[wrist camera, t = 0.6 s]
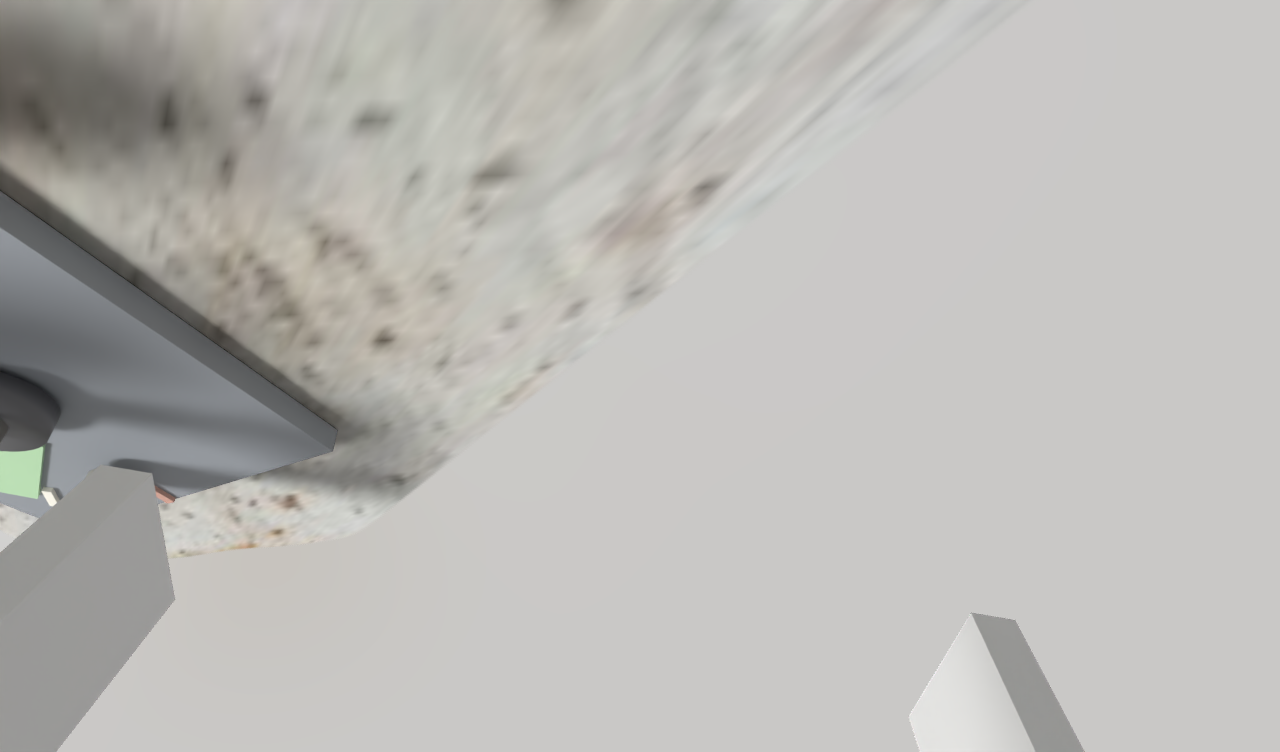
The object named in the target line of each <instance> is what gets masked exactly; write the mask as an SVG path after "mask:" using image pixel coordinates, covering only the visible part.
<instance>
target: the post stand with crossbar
mask: <svg viewBox="0 0 1280 752" xmlns="http://www.w3.org/2000/svg"><path fill="white" fill-rule="evenodd" d="M60 416H61V412H60V408H59V406H58V404H57V403H56V402H55V401H54V400H53V398H52V397H50V396H49V395H48V394H47V393H45V392H44V391H43V390H41V389H39V388H38V387H36V386H34V385H32V384H30V383H28V382H26V381H24V380H22V379H19V378H17V377H14V376H12V375H9V374H5V373H2V372H0V451H7V452H20V451H29V450H34V449H37V448H40V447H42V446H43V445H45V444H46V443H47V442H48V440H49V438H50V436H51V434H52V432H53V430H54V428H55V426H56V424H57V422H58V420H59V418H60ZM94 470H95V469H93V470H91V471H89V472H88V473H87V475H86V477H87V476H88V475H89V474H91V473H92V472H93V471H94Z"/></svg>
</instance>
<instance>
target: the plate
mask: <svg viewBox="0 0 1280 752" xmlns="http://www.w3.org/2000/svg"><path fill="white" fill-rule="evenodd" d="M0 372H2V373H5V374H9V375H12V376H14V377H17V378H19V379H22V380H24V381H26V382H28V383H30V384H32V385H34V386H36V387H38V388H39V389H41V390H43V391H44V392H45V393H47V394H48V395H49V396H50V397H52V398H53V400H54V401H55V402H56V403H57V404H58V406H59V408H60V412H61V416H60V418H59V420H58V422H57V424H56V426H55V428H54V430H53V432H52V434H51V436H50V438H49V440H48V442H47V443H46V444H45V445H43V446H42V447H40V448H37V449H34V450H29V451H20V452H7V451H0V503H2V504H4V505H7V506H9V507H12V508H14V509H17V510H20V511H22V512H25V513H27V514H30V515H32V516H35V517H37V518H40V517H41V516H43V515H44V514H45V513H46V512H47V511H48V510H49V509H51V508H52V507H53V506H54V505H55V504H56V503H57V502H59V501H60V500H61V499H62V498H63V497H64V496H65V495H67V494H68V493H69V492H70V491H71V490H72V489H73V488H75V487H76V486H77V485H78V484H79V483H80V482H81V481H83V480H84V479H85V478H86V475H87V473H88V472H89V471H91V470H93V469H96V468H97V467H99V466H100V465H106V466H112V467H118V468H123V469H129V470H135V471H141V472H147V473H152V475H153V480H154V486H155V491H156V497H157V502H158V504H160V503H163V502H166V503H172V502H174V501H175V499H176V498H180V497H183V496H186V495H190V494H193V493H196V492H200V491H203V490H206V489H210V488H213V487H216V486H220V485H223V484H226V483H229V482H233V481H236V480H239V479H243V478H246V477H249V476H253V475H256V474H259V473H263V472H266V471H269V470H273V469H276V468H279V467H283V466H286V465H289V464H293V463H296V462H299V461H302V460H306V459H309V458H312V457H316V456H319V455H322V454H326V453H329V452H332V451H333V448H334V444H335V440H336V435H337V431H338V430H336V429H335V428H334V427H332V426H331V425H329V424H328V423H327V422H325V421H324V420H322V419H321V418H320V417H318V416H317V415H315V414H314V413H312V412H311V411H310V410H308V409H307V408H305V407H304V406H303V405H301V404H300V403H298V402H297V401H296V400H294V399H293V398H291V397H290V396H289V395H287V394H286V393H284V392H283V391H281V390H280V389H279V388H277V387H276V386H274V385H273V384H272V383H270V382H269V381H267V380H266V379H265V378H263V377H262V376H260V375H259V374H258V373H256V372H255V371H253V370H252V369H250V368H249V367H248V366H246V365H245V364H243V363H242V362H241V361H239V360H238V359H236V358H235V357H234V356H232V355H231V354H229V353H228V352H227V351H225V350H224V349H222V348H221V347H219V346H218V345H217V344H215V343H214V342H212V341H211V340H210V339H208V338H207V337H205V336H204V335H203V334H201V333H200V332H198V331H197V330H196V329H194V328H193V327H191V326H190V325H188V324H187V323H186V322H184V321H183V320H181V319H180V318H179V317H177V316H176V315H174V314H173V313H172V312H170V311H169V310H167V309H166V308H165V307H163V306H162V305H160V304H159V303H157V302H156V301H155V300H153V299H152V298H150V297H149V296H148V295H146V294H145V293H143V292H142V291H141V290H139V289H138V288H136V287H135V286H134V285H132V284H131V283H129V282H128V281H126V280H125V279H124V278H122V277H121V276H119V275H118V274H117V273H115V272H114V271H112V270H111V269H110V268H108V267H107V266H105V265H104V264H102V263H101V262H100V261H98V260H97V259H95V258H94V257H93V256H91V255H90V254H88V253H87V252H86V251H84V250H83V249H81V248H80V247H79V246H77V245H76V244H74V243H73V242H71V241H70V240H69V239H67V238H66V237H64V236H63V235H62V234H60V233H59V232H57V231H56V230H55V229H53V228H52V227H50V226H49V225H48V224H46V223H45V222H43V221H42V220H40V219H39V218H38V217H36V216H35V215H33V214H32V213H31V212H29V211H28V210H26V209H25V208H24V207H22V206H21V205H19V204H18V203H17V202H15V201H14V200H12V199H11V198H9V197H8V196H7V195H5V194H4V193H2V192H1V191H0Z"/></svg>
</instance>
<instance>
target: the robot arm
mask: <svg viewBox="0 0 1280 752" xmlns="http://www.w3.org/2000/svg"><path fill="white" fill-rule="evenodd" d="M174 600H175V597H174V591H173V586H172V580H171V574H170V569H169V563H168V557H167V552H166V546H165V541H164V535H163V530H162V524H161V519H160V513H159V508H158V502H157V497H156V491H155V486H154V480H153V475H152V473H147V472H141V471H135V470H129V469H123V468H118V467H112V466H106V465H100V466H99V467H97V468H96V469H95V470H94V471H93V472H92V473H91V474H89V475H88V476H87V477H86V478H85V479H84V480H83V481H81V482H80V483H79V484H78V485H77V486H76V487H75V488H73V489H72V490H71V491H70V492H69V493H68V494H67V495H65V496H64V497H63V498H62V499H61V500H60V501H59V502H57V503H56V504H55V505H54V506H53V507H52V508H51V509H49V510H48V511H47V512H46V513H45V514H44V515H43V516H41V517H40V518H39V519H38V520H37V521H36V522H35V523H33V524H32V525H31V526H30V527H29V528H28V529H27V530H25V531H24V532H23V533H22V534H21V535H20V536H19V537H17V538H16V539H15V540H14V541H13V542H12V543H11V544H9V545H8V546H7V547H6V548H5V549H4V550H3V551H1V552H0V752H56V751H57V750H58V749H59V747H60V746H61V745H62V744H63V742H64V741H65V740H66V738H67V737H68V736H69V734H70V733H71V732H72V731H73V729H74V728H75V727H76V725H77V724H78V723H79V722H80V720H81V719H82V718H83V717H84V715H85V714H86V713H87V712H88V710H89V709H90V708H91V706H92V705H93V704H94V703H95V701H96V700H97V699H98V697H99V696H100V695H101V693H102V692H103V691H104V690H105V689H106V687H107V686H108V685H109V683H110V682H111V681H112V680H113V678H114V677H115V676H116V674H117V673H118V672H119V671H120V669H121V668H122V667H123V666H124V664H125V663H126V662H127V660H128V659H129V658H130V656H131V655H132V654H133V653H134V651H135V650H136V649H137V647H138V646H139V645H140V644H141V642H142V641H143V640H144V639H145V637H146V636H147V635H148V633H149V632H150V631H151V630H152V628H153V627H154V625H155V624H156V623H157V622H158V621H159V619H160V618H161V617H162V616H163V614H164V613H165V612H166V611H167V609H168V608H169V607H170V605H171V604H172V603H173V601H174ZM909 720H910V723H911V726H912V729H913V732H914V736H915V739H916V742H917V745H918V748H919V751H920V752H1084V750H1083V748H1082V746H1081V744H1080V742H1079V740H1078V739H1077V736H1076V734H1075V733H1074V731H1073V729H1072V727H1071V725H1070V723H1069V721H1068V719H1067V717H1066V716H1065V714H1064V712H1063V710H1062V708H1061V706H1060V704H1059V702H1058V700H1057V699H1056V697H1055V695H1054V693H1053V691H1052V689H1051V687H1050V685H1049V683H1048V682H1047V680H1046V678H1045V676H1044V674H1043V672H1042V670H1041V668H1040V666H1039V664H1038V662H1037V661H1036V659H1035V657H1034V655H1033V653H1032V651H1031V649H1030V647H1029V646H1028V644H1027V642H1026V640H1025V638H1024V636H1023V634H1022V632H1021V630H1020V628H1019V626H1018V624H1017V623H1016V621H1015V620H1011V619H1005V618H999V617H993V616H988V615H981V614H976V613H970V615H969V617H968V618H967V620H966V622H965V624H964V625H963V627H962V628H961V630H960V632H959V633H958V635H957V637H956V638H955V640H954V642H953V643H952V645H951V647H950V648H949V650H948V652H947V653H946V655H945V657H944V658H943V660H942V662H941V663H940V665H939V667H938V668H937V670H936V672H935V673H934V675H933V677H932V678H931V680H930V682H929V683H928V685H927V687H926V688H925V690H924V692H923V693H922V695H921V697H920V698H919V700H918V702H917V703H916V705H915V707H914V708H913V710H912V712H911V713H910V715H909Z"/></svg>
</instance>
